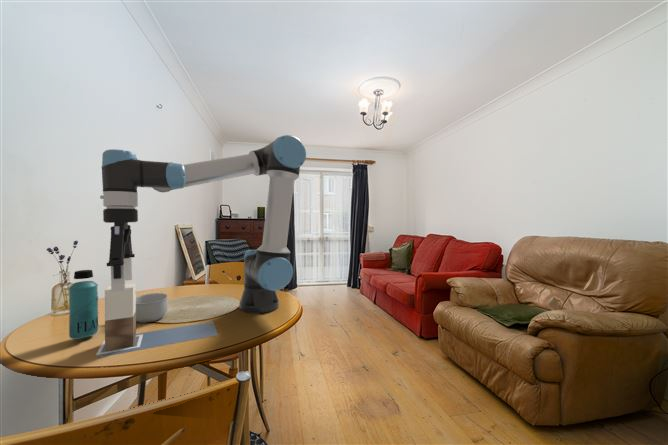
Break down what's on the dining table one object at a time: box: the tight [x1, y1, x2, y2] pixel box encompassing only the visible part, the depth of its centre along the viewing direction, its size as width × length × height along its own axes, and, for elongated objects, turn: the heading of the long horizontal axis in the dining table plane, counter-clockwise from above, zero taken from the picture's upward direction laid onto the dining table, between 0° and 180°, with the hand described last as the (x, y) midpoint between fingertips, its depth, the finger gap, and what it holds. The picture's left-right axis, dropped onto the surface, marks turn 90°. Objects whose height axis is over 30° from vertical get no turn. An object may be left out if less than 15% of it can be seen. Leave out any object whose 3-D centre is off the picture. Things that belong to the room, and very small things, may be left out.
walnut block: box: [104, 311, 137, 351], centre depth 77 cm, size 6×6×8 cm
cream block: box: [104, 282, 137, 322], centre depth 77 cm, size 6×6×8 cm
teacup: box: [136, 292, 169, 324], centre depth 96 cm, size 14×11×8 cm
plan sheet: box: [95, 321, 219, 359], centre depth 82 cm, size 29×13×1 cm, turn 120°
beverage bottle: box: [68, 269, 99, 340], centre depth 81 cm, size 6×7×20 cm
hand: (122, 285), depth 77 cm, fingers open, 13 cm apart
